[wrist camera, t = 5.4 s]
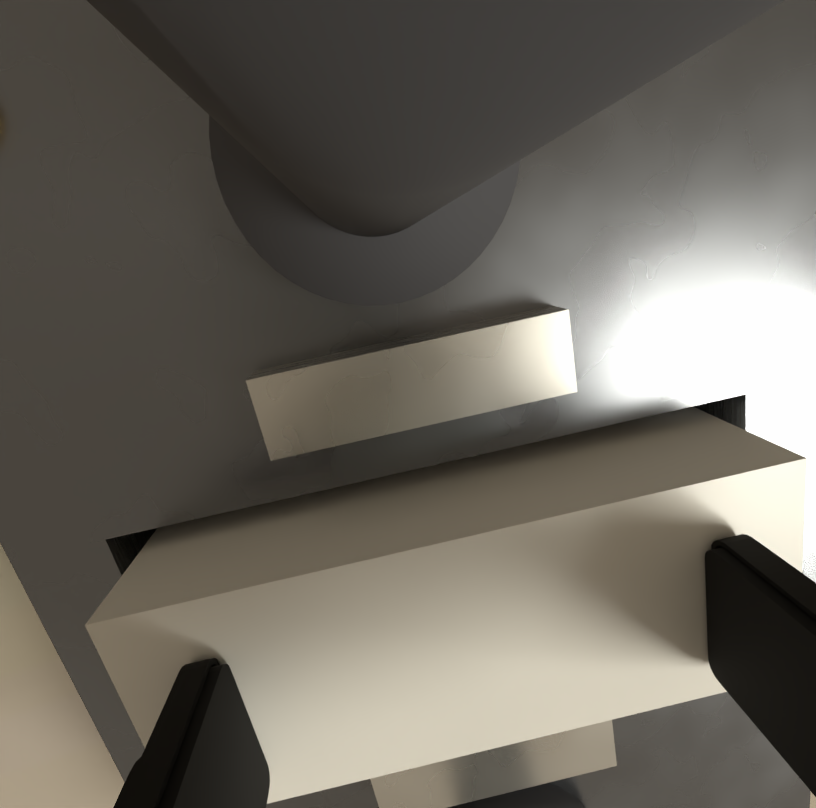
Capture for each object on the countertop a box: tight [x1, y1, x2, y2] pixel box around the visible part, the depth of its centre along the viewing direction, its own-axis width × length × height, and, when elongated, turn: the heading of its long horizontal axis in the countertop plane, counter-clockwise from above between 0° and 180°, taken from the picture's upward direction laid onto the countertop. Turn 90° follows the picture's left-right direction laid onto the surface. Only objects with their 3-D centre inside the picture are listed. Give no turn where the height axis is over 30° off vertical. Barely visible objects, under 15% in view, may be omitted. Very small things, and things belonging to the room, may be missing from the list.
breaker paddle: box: [85, 406, 807, 804], centre depth 13 cm, size 5×13×7 cm, turn 102°
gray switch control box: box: [0, 0, 816, 808], centre depth 14 cm, size 26×18×7 cm
